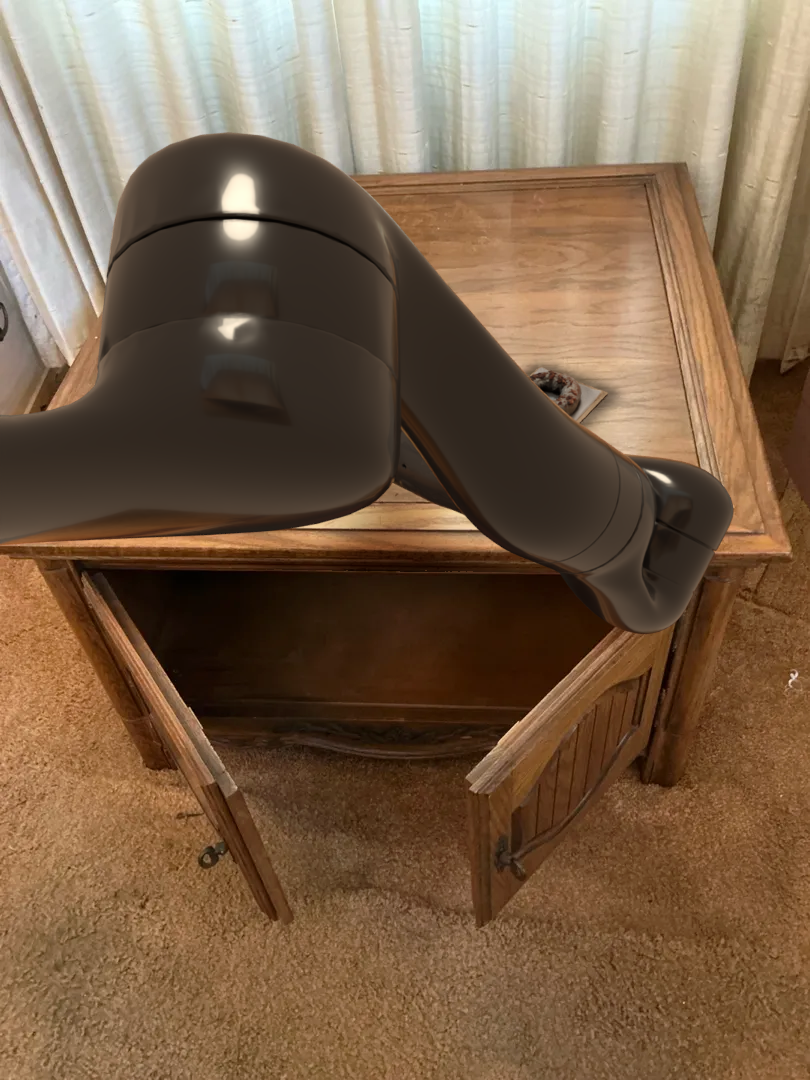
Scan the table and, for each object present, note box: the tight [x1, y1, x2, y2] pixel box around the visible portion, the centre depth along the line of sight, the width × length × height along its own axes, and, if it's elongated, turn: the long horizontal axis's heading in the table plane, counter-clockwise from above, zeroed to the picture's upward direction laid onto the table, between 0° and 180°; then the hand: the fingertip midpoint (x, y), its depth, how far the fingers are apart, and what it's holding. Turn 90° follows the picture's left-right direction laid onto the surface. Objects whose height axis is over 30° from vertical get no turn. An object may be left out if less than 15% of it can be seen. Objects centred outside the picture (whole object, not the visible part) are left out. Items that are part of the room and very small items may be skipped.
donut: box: [528, 366, 609, 423], centre depth 81 cm, size 8×8×2 cm
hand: (264, 362), depth 65 cm, fingers open, 8 cm apart
